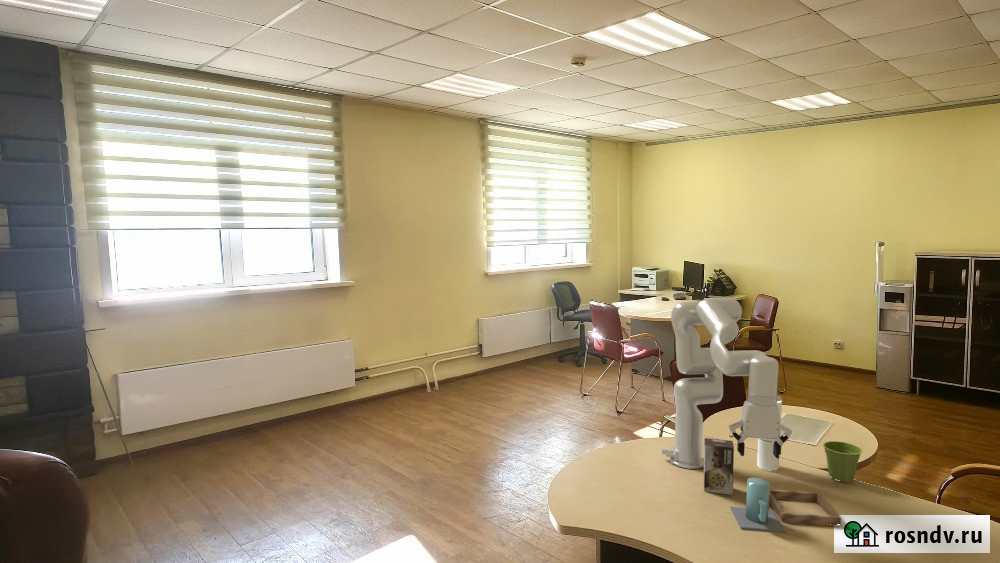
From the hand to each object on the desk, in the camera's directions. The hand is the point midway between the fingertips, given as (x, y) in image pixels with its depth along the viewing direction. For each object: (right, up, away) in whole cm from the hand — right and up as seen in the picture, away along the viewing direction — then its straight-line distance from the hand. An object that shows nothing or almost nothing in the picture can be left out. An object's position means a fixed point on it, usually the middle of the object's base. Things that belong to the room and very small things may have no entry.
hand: (758, 455), depth 165 cm
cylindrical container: (+21, -16, +38) cm, 47 cm away
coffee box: (-4, -18, +21) cm, 28 cm away
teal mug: (0, -19, 0) cm, 19 cm away
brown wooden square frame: (+16, -19, +7) cm, 26 cm away
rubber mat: (0, -20, +1) cm, 20 cm away
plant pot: (+42, -17, +29) cm, 54 cm away
